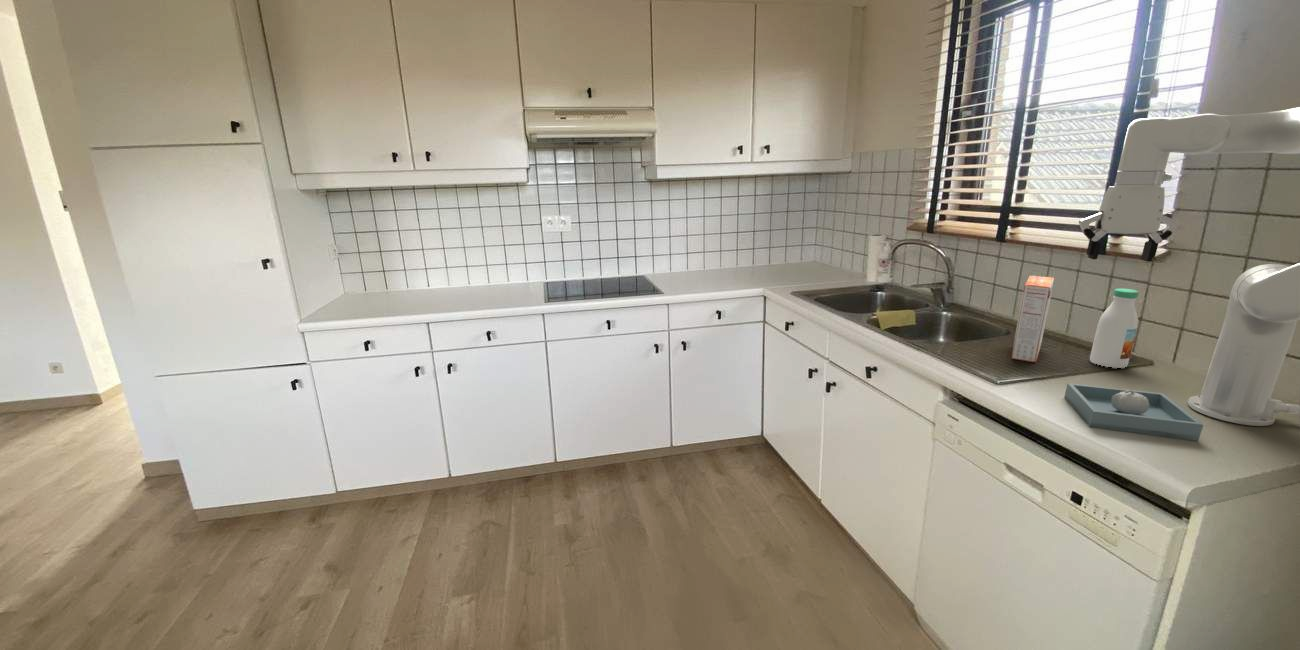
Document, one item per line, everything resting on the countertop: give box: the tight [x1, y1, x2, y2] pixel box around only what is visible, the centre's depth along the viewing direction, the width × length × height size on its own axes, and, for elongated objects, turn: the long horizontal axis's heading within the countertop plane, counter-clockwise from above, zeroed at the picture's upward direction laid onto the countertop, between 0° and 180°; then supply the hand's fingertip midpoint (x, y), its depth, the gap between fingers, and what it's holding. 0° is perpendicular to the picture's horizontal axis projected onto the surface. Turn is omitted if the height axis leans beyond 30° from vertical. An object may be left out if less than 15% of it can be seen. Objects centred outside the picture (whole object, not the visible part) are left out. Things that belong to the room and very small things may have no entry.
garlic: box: [1111, 389, 1149, 415], centre depth 110 cm, size 6×5×5 cm
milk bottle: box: [1089, 287, 1139, 369], centre depth 136 cm, size 8×8×20 cm
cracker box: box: [1011, 275, 1055, 363], centre depth 144 cm, size 14×6×21 cm, turn 141°
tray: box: [1064, 382, 1204, 442], centre depth 110 cm, size 17×15×4 cm
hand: (1118, 259), depth 118 cm, fingers open, 9 cm apart
